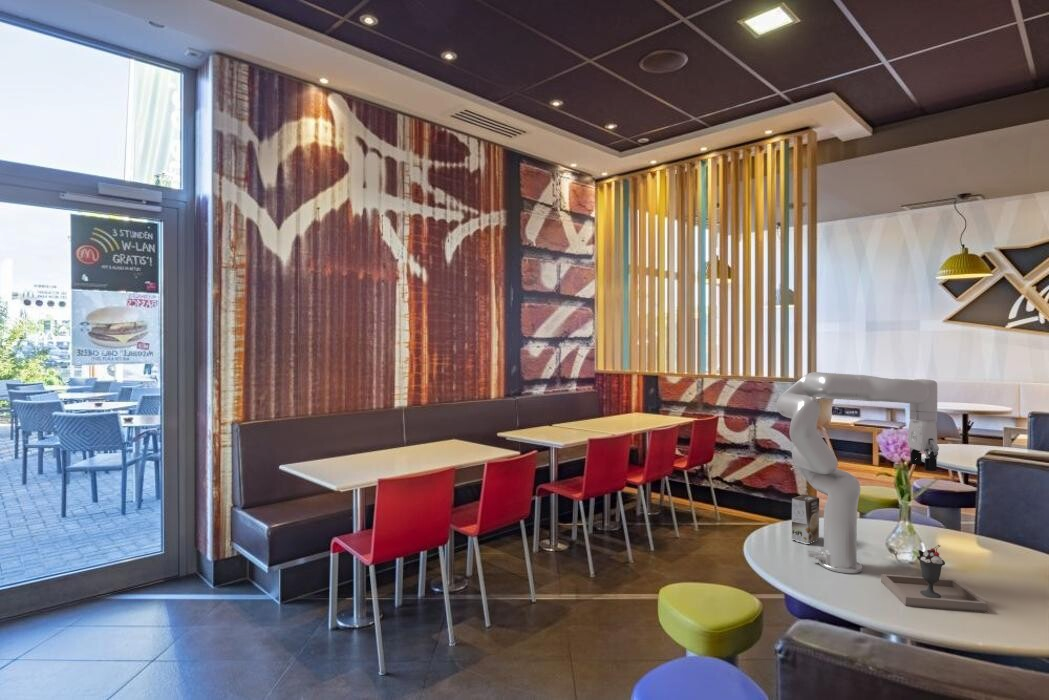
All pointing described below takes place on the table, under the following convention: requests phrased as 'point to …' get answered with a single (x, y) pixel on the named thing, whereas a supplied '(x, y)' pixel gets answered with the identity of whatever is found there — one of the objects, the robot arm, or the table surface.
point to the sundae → (930, 570)
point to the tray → (949, 589)
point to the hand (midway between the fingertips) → (923, 467)
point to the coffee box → (805, 518)
